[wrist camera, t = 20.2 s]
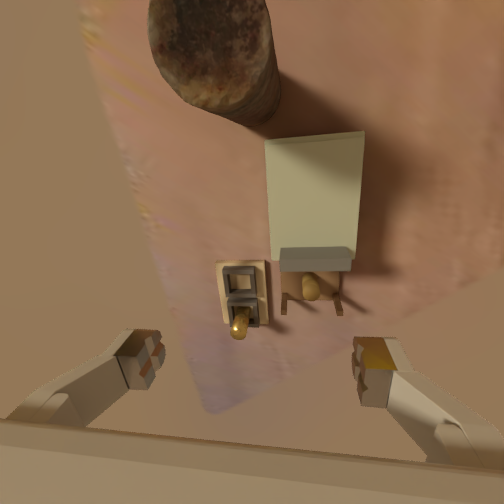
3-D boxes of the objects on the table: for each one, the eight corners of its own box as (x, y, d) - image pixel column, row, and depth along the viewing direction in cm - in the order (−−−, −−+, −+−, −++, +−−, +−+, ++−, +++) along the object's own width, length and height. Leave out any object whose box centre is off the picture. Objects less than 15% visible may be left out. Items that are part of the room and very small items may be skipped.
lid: (355, 131, 31) (376, 130, 24) (347, 243, 37) (362, 272, 29) (267, 139, 33) (260, 140, 25) (273, 245, 39) (268, 273, 31)
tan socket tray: (264, 259, 42) (263, 267, 39) (269, 320, 46) (267, 330, 44) (216, 260, 43) (212, 267, 41) (225, 319, 48) (222, 328, 45)
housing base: (341, 214, 37) (349, 226, 32) (337, 297, 42) (343, 319, 37) (278, 216, 38) (276, 229, 33) (282, 296, 44) (280, 318, 39)
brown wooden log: (269, 44, 30) (235, -94, 12) (292, 109, 33) (291, 76, 14) (213, 77, 32) (112, 4, 14) (237, 136, 35) (178, 137, 17)
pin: (250, 304, 44) (245, 327, 39) (251, 315, 45) (246, 340, 40) (236, 304, 45) (229, 327, 39) (238, 315, 46) (231, 339, 40)
